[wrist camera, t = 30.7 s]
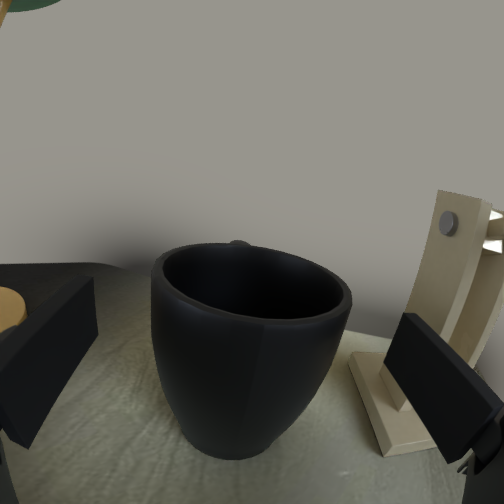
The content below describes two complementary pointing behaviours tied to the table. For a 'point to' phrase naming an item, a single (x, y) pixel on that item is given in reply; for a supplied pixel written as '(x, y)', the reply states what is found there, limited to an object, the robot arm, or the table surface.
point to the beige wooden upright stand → (438, 314)
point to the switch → (494, 235)
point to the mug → (242, 341)
